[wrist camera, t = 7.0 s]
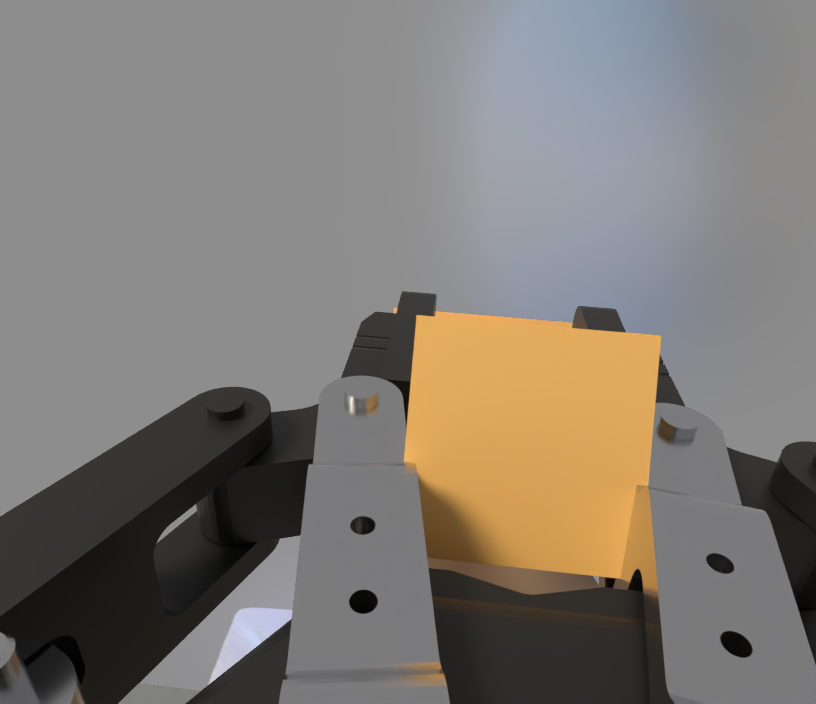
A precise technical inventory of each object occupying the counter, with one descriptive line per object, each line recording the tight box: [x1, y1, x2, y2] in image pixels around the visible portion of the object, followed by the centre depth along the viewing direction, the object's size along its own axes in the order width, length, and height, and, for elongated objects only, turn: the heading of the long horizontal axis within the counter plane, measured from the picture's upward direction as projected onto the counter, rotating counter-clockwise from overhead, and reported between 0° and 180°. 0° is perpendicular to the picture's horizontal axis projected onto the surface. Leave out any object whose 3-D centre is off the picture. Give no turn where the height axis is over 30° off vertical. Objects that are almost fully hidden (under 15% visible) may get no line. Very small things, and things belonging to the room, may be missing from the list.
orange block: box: [394, 308, 661, 579], centre depth 17 cm, size 6×19×4 cm, turn 176°
